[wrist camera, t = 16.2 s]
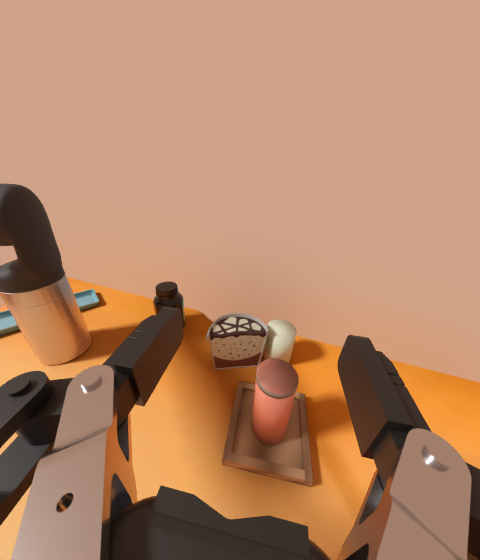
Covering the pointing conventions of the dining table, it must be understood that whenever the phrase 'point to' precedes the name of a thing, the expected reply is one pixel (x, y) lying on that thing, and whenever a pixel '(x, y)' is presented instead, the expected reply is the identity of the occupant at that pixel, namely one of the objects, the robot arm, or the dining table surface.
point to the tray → (269, 458)
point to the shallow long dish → (85, 300)
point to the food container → (237, 341)
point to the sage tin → (279, 340)
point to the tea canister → (273, 400)
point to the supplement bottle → (169, 298)
